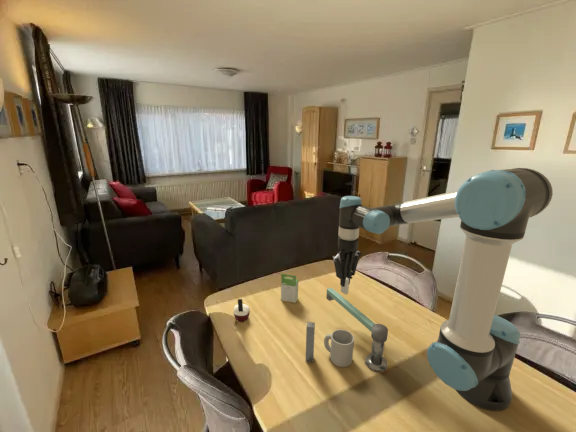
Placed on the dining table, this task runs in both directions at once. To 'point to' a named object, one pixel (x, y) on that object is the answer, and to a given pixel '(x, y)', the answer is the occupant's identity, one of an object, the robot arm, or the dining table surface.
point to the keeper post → (310, 341)
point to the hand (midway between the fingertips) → (344, 292)
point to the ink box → (289, 288)
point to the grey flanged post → (376, 358)
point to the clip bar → (360, 317)
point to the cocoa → (241, 311)
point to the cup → (340, 347)
